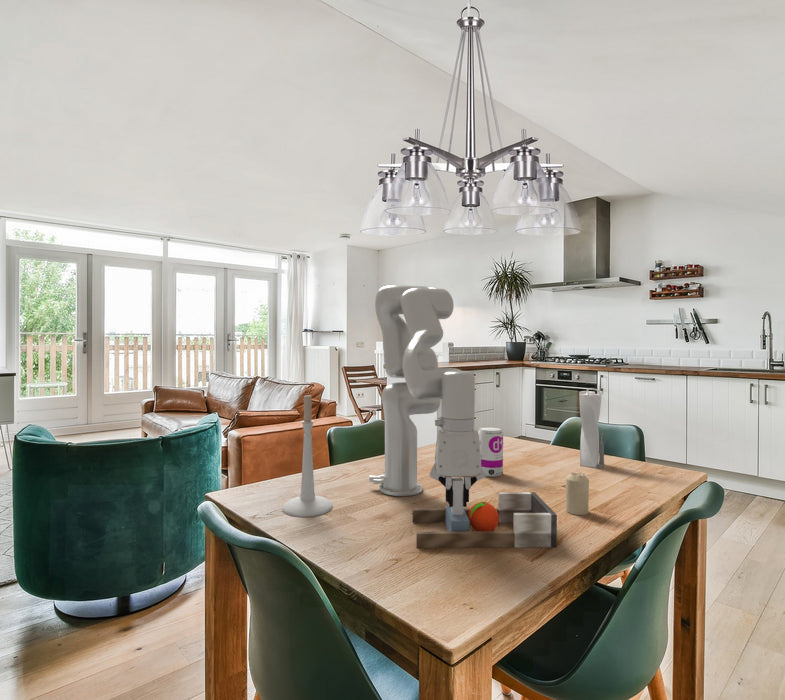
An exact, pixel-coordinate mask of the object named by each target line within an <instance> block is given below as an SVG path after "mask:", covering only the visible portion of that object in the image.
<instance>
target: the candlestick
mask: <svg viewBox="0 0 785 700" xmlns="http://www.w3.org/2000/svg"><path fill="white" fill-rule="evenodd" d="M312 409H313V408H312V395H309V394H307V395H304V396H303V420H301V421H300V422H301V424H302V429H303V431H304V433H303V447H302V449H303V450H302V462H301V463H302V467H301V483H300V484H301V485H300V496H296V497H293V498H290V499H289V500H287V501H286V502H285V503H284V504H283V506H282V512H283V513H285V514H286V515H289V516H292V517H297V518H298V517H299V518H300V517H301V518H304V517H305V518H309V517H315V516H316V517H317V516H321V515H323V514H324V515H325V514H327V513H329V512H330V511H331V510H332V509H333V503H332V502H331V500H329V499H328V498H326V497H324V496H320V495H316V493H315V483H314V481H315V479H314V477H315V476H314V463H313V462H314V458H313V439H312V435H313V434H312V433H311V432H312V429H313V427H314V425H313V423H315V420H313V419H312Z"/></svg>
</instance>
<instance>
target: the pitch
mask: <svg viewBox="0 0 785 700" xmlns="http://www.w3.org/2000/svg"><path fill="white" fill-rule="evenodd" d="M497 499H498V500H497V508H495V509H496V510H497V512H498V516H499V522H498V523H513V527H512V529H513V531H511V530H509V531H507V530H503V531H502V530H501V531H500V530H499V531H497V530H494V531H475V530H470V531H448V530H447V531H443V530H441V531H433V530H432V531H427V530H426V531H424V530H423V531H416V534H415V535H416V536H415V537H416V538H415V540H416V541H415V545H416V548H417V549H419V548H421V549H422V548H423V549H425V548H427V549H428V548H429V549H431V548H432V549H433V548H435V549H436V548H438V549H439V548H443V549H445V548H448V549H449V548H451V549H452V548H456V549H457V548H466V549H467V548H469V549H470V548H557V537H558V536H557V535H558V534H557V531H558V529H557V528H558V525H557V524H558V515H557V513H556V512H555V511H554V510H553V509H552V508H551V507H550V506H549V505H548V504H547V503H546V502H545V501H544V500H543V499H542V498H541V497H540V496H539V495H538V494H537V493H536V492H535V491H533V492H531V491H530V492H529V491H527V492H525V491H524V492H523V491H522V492H521V491H519V492H518V491H516V492H515V491H514V492H513V491H511V492H509V491H508V492H507V491H505V492H504V491H503V492H501V491H500V492H498V493H497ZM470 509H471V508H464V510H465V512H466V514H467V517H468V516H469V511H470ZM411 519H412V523H413V524H414V523H415V524H416V523H418V524H421V523H425V524H426V523H429V524H430V523H431V524H432V523H433V524H434V523H439V524H440V523H442V524H443V523H445V520H446V508H412V517H411Z"/></svg>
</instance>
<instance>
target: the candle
mask: <svg viewBox="0 0 785 700" xmlns="http://www.w3.org/2000/svg"><path fill="white" fill-rule="evenodd" d="M589 484H590V480H589V478H588V477H587V476H586V475H585V473H584V472H578V473H576V472H575V473H574V472H570V473H569V474H568V475H567V476H566V477H565V511H566V512H567V513H568V514H572V515H577V516H585V515H587V514H589V499H590V498H589V495H590V491H589V489H590V485H589Z"/></svg>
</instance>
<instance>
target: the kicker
mask: <svg viewBox="0 0 785 700" xmlns="http://www.w3.org/2000/svg"><path fill="white" fill-rule="evenodd" d="M463 484H464V478H463V477H451V486H452V489H453V506H452V507H450V506H449V504H448V505H445V509H446V520H445V526H446V530H447V531H471V530H470V526H471V525H470V521H469V519H468V517H467V514H466V512H465V510H464V509H465V507H464V506H463Z"/></svg>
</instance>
